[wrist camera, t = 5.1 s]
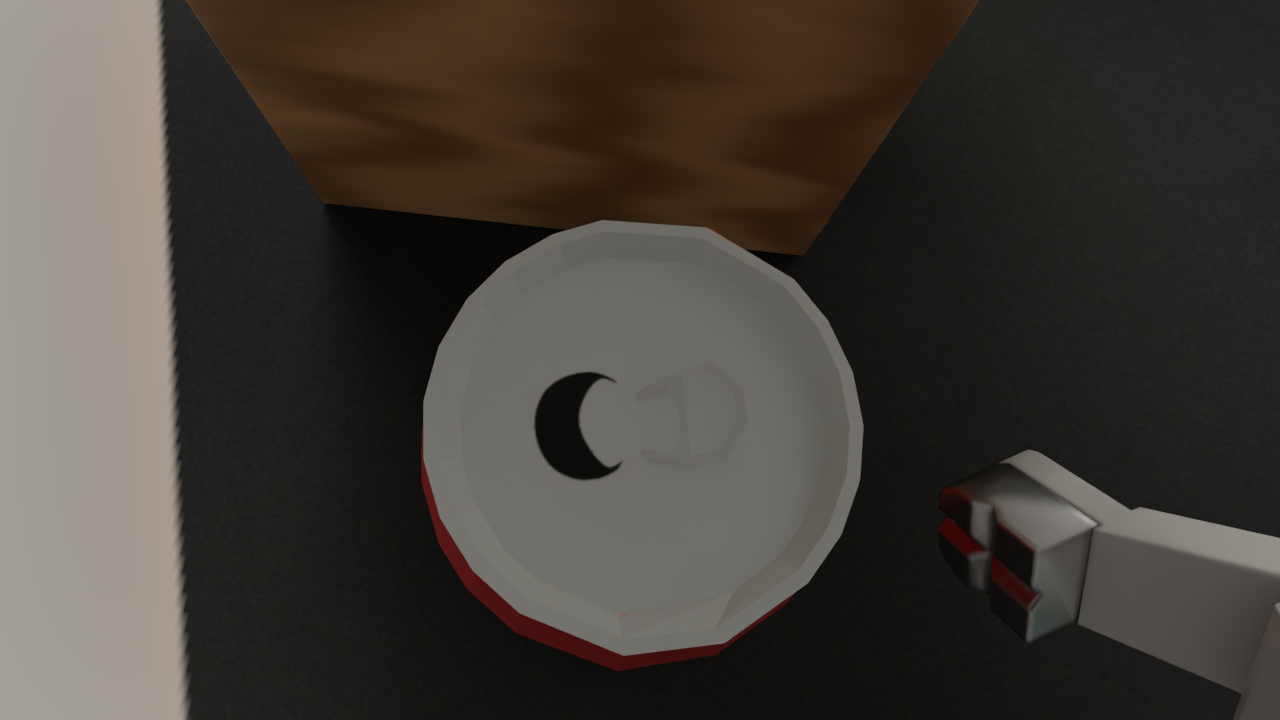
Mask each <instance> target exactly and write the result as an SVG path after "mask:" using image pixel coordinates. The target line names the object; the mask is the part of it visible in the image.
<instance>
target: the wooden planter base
mask: <svg viewBox="0 0 1280 720" xmlns="http://www.w3.org/2000/svg"><path fill="white" fill-rule="evenodd" d="M186 1H187V3H188V4H189V6H190V7H191V9H192V10H193V12H194V13H195V15H196V16H197V18H198V19H199V21H200V22H201V24H202V25H203V26H204V28H205V29H206V31H207V32H208V34H209V35H210V37H211V38H212V40H213V41H214V43H215V44H216V46H217V47H218V49H219V50H220V52H221V53H222V54H223V56H224V57H225V59H226V60H227V62H228V63H229V65H230V66H231V68H232V69H233V71H234V72H235V74H236V75H237V77H238V78H239V80H240V81H241V82H242V84H243V85H244V87H245V88H246V90H247V91H248V93H249V94H250V96H251V97H252V99H253V100H254V102H255V103H256V105H257V106H258V108H259V109H260V110H261V112H262V113H263V115H264V116H265V118H266V119H267V121H268V122H269V124H270V125H271V127H272V128H273V130H274V131H275V133H276V134H277V135H278V137H279V138H280V140H281V141H282V143H283V144H284V146H285V147H286V149H287V150H288V152H289V153H290V155H291V156H292V158H293V159H294V161H295V162H296V163H297V165H298V166H299V168H300V169H301V171H302V172H303V174H304V175H305V177H306V178H307V180H308V181H309V183H310V184H311V186H312V187H313V189H314V190H315V191H316V193H317V194H318V196H319V197H320V199H321V200H322V202H323V203H326V204H335V205H344V206H353V207H363V208H372V209H381V210H390V211H399V212H408V213H417V214H426V215H436V216H445V217H454V218H463V219H472V220H481V221H490V222H499V223H509V224H518V225H527V226H536V227H545V228H554V229H563V230H569V229H573V228H576V227H580V226H583V225H587V224H590V223H594V222H597V221H601V220H608V221H622V222H636V223H650V224H664V225H678V226H692V227H706V228H709V229H711V230H713V231H714V232H716V233H718V234H719V235H721V236H723V237H724V238H726V239H728V240H729V241H731V242H733V243H734V244H736V245H738V246H739V247H741V248H743V249H746V250H755V251H764V252H773V253H783V254H792V255H801V256H803V255H805V253H806V252H807V250H808V249H809V247H810V246H811V245H812V243H813V242H814V240H815V239H816V237H817V236H818V234H819V233H820V231H821V230H822V229H823V227H824V226H825V224H826V223H827V221H828V220H829V218H830V217H831V215H832V214H833V213H834V211H835V210H836V208H837V207H838V205H839V204H840V202H841V201H842V199H843V198H844V197H845V195H846V194H847V192H848V191H849V189H850V188H851V186H852V185H853V183H854V182H855V181H856V179H857V178H858V176H859V175H860V173H861V172H862V170H863V169H864V168H865V166H866V165H867V163H868V162H869V160H870V159H871V157H872V156H873V154H874V153H875V152H876V150H877V149H878V147H879V146H880V144H881V143H882V141H883V140H884V138H885V137H886V136H887V134H888V133H889V131H890V130H891V128H892V127H893V125H894V124H895V122H896V121H897V120H898V118H899V117H900V115H901V114H902V112H903V111H904V109H905V108H906V106H907V105H908V104H909V102H910V101H911V99H912V98H913V96H914V95H915V93H916V92H917V90H918V89H919V88H920V86H921V85H922V83H923V82H924V80H925V79H926V77H927V76H928V75H929V73H930V72H931V70H932V69H933V67H934V66H935V64H936V63H937V61H938V60H939V59H940V57H941V56H942V54H943V53H944V51H945V50H946V48H947V47H948V45H949V44H950V43H951V41H952V40H953V38H954V37H955V35H956V34H957V32H958V31H959V29H960V28H961V27H962V25H963V24H964V22H965V21H966V19H967V18H968V16H969V15H970V13H971V12H972V11H973V9H974V8H975V6H976V5H977V3H978V2H979V0H186Z"/></svg>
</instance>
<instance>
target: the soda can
mask: <svg viewBox="0 0 1280 720" xmlns="http://www.w3.org/2000/svg"><path fill="white" fill-rule="evenodd" d="M863 427H864V426H863V421H862V416H861V411H860V406H859V401H858V396H857V390H856V385H855V380H854V375H853V371H852V369H851V367H850V365H849V363H848V361H847V359H846V357H845V355H844V353H843V351H842V348H841V346H840V344H839V342H838V340H837V338H836V336H835V334H834V332H833V330H832V328H831V326H830V323H829V321H828V320H827V319H826V317H825V316H824V315H823V314H822V313H821V311H820V310H819V309H818V308H817V307H816V305H815V304H814V303H813V302H812V300H811V299H810V298H809V297H808V296H807V294H806V293H805V292H804V291H803V290H802V288H801V287H800V286H799V285H798V283H797V282H796V281H795V280H794V279H793V278H791V277H789V276H788V275H786V274H784V273H783V272H781V271H779V270H778V269H776V268H774V267H773V266H771V265H769V264H768V263H766V262H764V261H763V260H761V259H759V258H758V257H756V256H754V255H753V254H751V253H749V252H748V251H746V250H744V249H743V248H741V247H739V246H738V245H736V244H734V243H733V242H731V241H729V240H728V239H726V238H724V237H723V236H721V235H719V234H718V233H716V232H714V231H713V230H711V229H709V228H706V227H692V226H678V225H664V224H650V223H636V222H622V221H608V220H601V221H597V222H594V223H590V224H587V225H583V226H580V227H576V228H573V229H569V230H566V231H562V232H559V233H555V234H552V235H550V236H549V237H547V238H545V239H543V240H542V241H540V242H538V243H536V244H535V245H533V246H531V247H529V248H528V249H526V250H524V251H522V252H521V253H519V254H517V255H515V256H514V257H512V258H510V259H509V260H507V261H505V262H504V263H503V264H502V265H501V266H500V267H499V268H498V269H497V270H496V271H495V272H494V273H493V274H492V275H491V276H490V277H489V278H488V279H487V280H486V281H485V282H484V283H483V284H482V285H481V286H480V287H479V288H478V289H477V290H476V291H475V292H474V293H473V294H471V295H470V296H469V297H468V298H467V300H466V302H465V303H464V305H463V307H462V308H461V310H460V312H459V313H458V315H457V317H456V318H455V320H454V322H453V323H452V325H451V327H450V328H449V330H448V332H447V333H446V335H445V337H444V338H443V340H442V342H441V343H440V345H439V347H438V351H437V354H436V358H435V361H434V365H433V368H432V372H431V376H430V379H429V383H428V386H427V390H426V393H425V397H424V401H423V429H422V486H423V489H424V493H425V497H426V500H427V504H428V507H429V511H430V514H431V518H432V521H433V525H434V528H435V532H436V535H437V539H438V543H439V545H440V546H441V548H442V550H443V551H444V553H445V555H446V556H447V558H448V559H449V561H450V563H451V564H452V566H453V567H454V569H455V571H456V572H457V574H458V576H459V577H460V579H461V580H462V582H463V584H464V585H465V587H466V588H467V589H468V590H469V591H470V592H471V593H472V594H473V595H474V596H475V597H476V598H478V599H479V600H480V601H481V602H482V603H483V604H484V605H485V606H486V607H488V608H489V609H490V610H491V611H492V612H493V613H494V614H495V615H496V616H498V617H499V618H500V619H501V620H502V621H503V622H504V623H505V624H506V625H508V626H509V627H510V628H511V629H512V630H513V631H514V632H515V633H517V634H519V635H522V636H525V637H527V638H530V639H533V640H535V641H538V642H541V643H544V644H546V645H549V646H552V647H554V648H557V649H560V650H562V651H565V652H568V653H570V654H573V655H576V656H578V657H581V658H584V659H586V660H589V661H592V662H595V663H597V664H600V665H603V666H605V667H608V668H611V669H613V670H616V671H621V670H627V669H633V668H639V667H645V666H651V665H657V664H664V663H670V662H676V661H682V660H688V659H694V658H700V657H706V656H712V655H716V654H717V653H719V652H720V651H722V650H723V649H724V648H726V647H727V646H729V645H730V644H731V643H733V642H734V641H736V640H737V639H738V638H740V637H741V636H743V635H744V634H745V633H747V632H748V631H750V630H751V629H752V628H754V627H755V626H757V625H758V624H759V623H761V622H762V621H764V620H765V619H766V618H768V617H769V616H771V615H772V614H773V613H775V612H776V611H778V610H779V609H780V608H782V607H783V606H785V605H786V604H787V603H788V601H789V600H790V598H791V597H792V596H793V594H794V593H795V592H796V591H798V590H799V589H801V588H802V587H803V586H805V585H806V584H808V582H809V581H810V580H811V578H812V577H813V575H814V574H815V572H816V571H817V569H818V568H819V567H820V565H821V564H822V562H823V561H824V559H825V558H826V556H827V555H828V554H829V552H830V551H831V549H832V548H833V546H834V545H835V543H836V542H837V541H838V539H839V538H840V536H841V534H842V532H843V529H844V526H845V523H846V520H847V517H848V514H849V511H850V508H851V505H852V502H853V500H854V497H855V494H856V491H857V488H858V485H859V482H860V473H861V458H862V443H863Z"/></svg>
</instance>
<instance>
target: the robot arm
mask: <svg viewBox="0 0 1280 720" xmlns="http://www.w3.org/2000/svg"><path fill="white" fill-rule="evenodd" d="M938 508H939V509H940V510H942V511H943V512H944V513H945V514H946V517H945V519H944V520H943V522H942V524H941V525H940V527H939V529H938V538H939V548H940V550H941V552H942V555H943V557H944V559H945V562H946V564H947V565H948V566H949V568H950V569H951V570H952V572H953V573H954V574H955V576H956V577H957V578H958V579H959V580H960V581H961V582H962V583H963V584H964V585H965V586H966V587H967V588H970V589H973V590H976V591H979V592H982V593H985V594H988V597H989V602H990V607H991V610H992V611H993V612H994V613H995V614H996V615H997V616H998V617H999V618H1000V619H1001V620H1002V621H1003V622H1004V623H1006V624H1007V625H1008V626H1009V627H1010V628H1011V629H1012V630H1013V631H1014V632H1015V633H1016V634H1017V635H1018V636H1019V637H1020V638H1021V639H1023V640H1024V641H1025V642H1026V643H1027V644H1029V643H1031V642H1033V641H1035V640H1037V639H1040V638H1042V637H1044V636H1046V635H1048V634H1050V633H1052V632H1055V631H1057V630H1059V629H1061V628H1063V627H1065V626H1067V625H1070V624H1072V623H1074V622H1076V621H1078V625H1081V626H1083V627H1086V628H1088V629H1090V630H1093V631H1095V632H1097V633H1100V634H1102V635H1104V636H1107V637H1109V638H1112V639H1114V640H1116V641H1119V642H1121V643H1123V644H1126V645H1128V646H1130V647H1133V648H1135V649H1137V650H1140V651H1142V652H1145V653H1147V654H1149V655H1152V656H1154V657H1156V658H1159V659H1161V660H1163V661H1166V662H1168V663H1171V664H1173V665H1175V666H1178V667H1180V668H1182V669H1185V670H1187V671H1189V672H1192V673H1194V674H1196V675H1199V676H1201V677H1204V678H1206V679H1208V680H1211V681H1213V682H1215V683H1218V684H1220V685H1222V686H1225V687H1227V688H1229V689H1232V690H1234V691H1237V692H1239V693H1241V694H1242V695H1241V698H1240V701H1239V703H1238V706H1237V709H1236V711H1235V714H1234V717H1233V719H1232V720H1280V538H1277V537H1272V536H1268V535H1263V534H1259V533H1254V532H1250V531H1245V530H1241V529H1236V528H1232V527H1227V526H1223V525H1218V524H1214V523H1209V522H1205V521H1200V520H1196V519H1191V518H1187V517H1182V516H1178V515H1173V514H1169V513H1164V512H1160V511H1155V510H1151V509H1146V508H1142V507H1139V508H1136V509H1134V510H1132V511H1131V510H1129V509H1128V508H1126V507H1125V506H1123V505H1121V504H1120V503H1118V502H1117V501H1115V500H1114V499H1112V498H1110V497H1109V496H1107V495H1106V494H1104V493H1103V492H1101V491H1099V490H1098V489H1096V488H1095V487H1093V486H1091V485H1090V484H1088V483H1087V482H1085V481H1084V480H1082V479H1080V478H1079V477H1077V476H1076V475H1074V474H1073V473H1071V472H1069V471H1068V470H1066V469H1065V468H1063V467H1062V466H1060V465H1058V464H1057V463H1055V462H1054V461H1052V460H1051V459H1049V458H1047V457H1046V456H1044V455H1043V454H1041V453H1039V452H1036V451H1032V450H1026V451H1024V452H1022V453H1019V454H1017V455H1015V456H1013V457H1010V458H1008V459H1006V460H1003V461H1001V462H999V463H998V464H993V465H991V466H989V467H986V468H984V469H982V470H980V471H978V472H975V473H973V474H971V475H969V476H967V477H965V478H962V479H960V480H958V481H956V482H954V483H951V484H949V485H947V486H945V487H943V489H942V490H941V492H940V494H939V503H938Z"/></svg>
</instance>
